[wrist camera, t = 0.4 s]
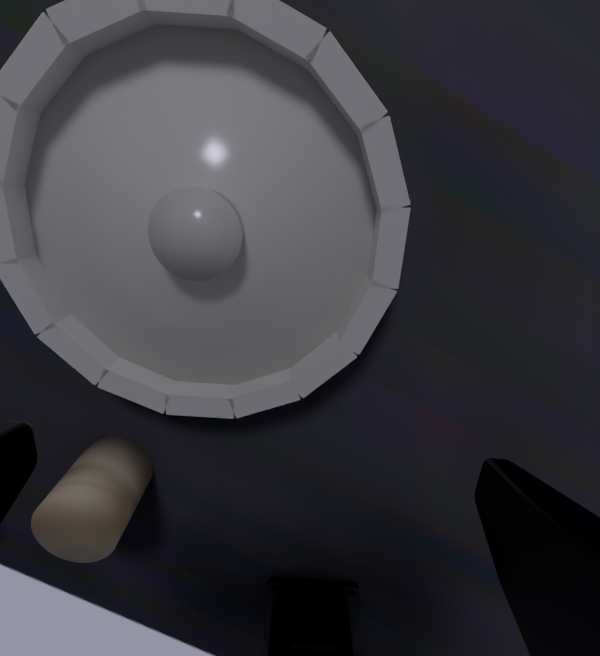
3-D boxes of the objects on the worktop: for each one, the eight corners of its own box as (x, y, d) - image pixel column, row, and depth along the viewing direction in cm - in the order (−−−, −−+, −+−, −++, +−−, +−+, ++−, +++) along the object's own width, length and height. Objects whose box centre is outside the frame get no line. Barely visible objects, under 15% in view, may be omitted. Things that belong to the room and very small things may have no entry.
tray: (369, 401, 23) (376, 427, 20) (52, 381, 23) (21, 405, 20) (423, 17, 16) (443, -11, 14) (-19, -12, 16) (-76, -46, 14)
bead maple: (155, 494, 26) (121, 565, 21) (88, 490, 26) (38, 560, 21) (150, 438, 24) (113, 500, 19) (78, 434, 24) (23, 495, 19)
